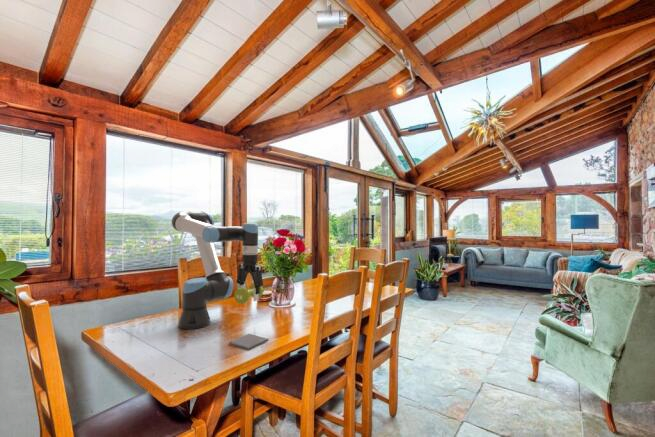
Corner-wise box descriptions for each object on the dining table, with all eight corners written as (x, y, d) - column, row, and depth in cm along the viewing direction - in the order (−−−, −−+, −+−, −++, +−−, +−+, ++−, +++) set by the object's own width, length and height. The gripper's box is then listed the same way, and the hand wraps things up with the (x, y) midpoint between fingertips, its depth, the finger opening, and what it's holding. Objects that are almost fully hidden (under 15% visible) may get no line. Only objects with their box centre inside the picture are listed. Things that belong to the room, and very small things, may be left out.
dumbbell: (245, 305, 148) (246, 289, 148) (232, 303, 151) (232, 288, 151) (265, 297, 164) (265, 283, 164) (252, 295, 167) (252, 281, 166)
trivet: (229, 344, 139) (229, 341, 139) (248, 335, 149) (248, 333, 149) (248, 350, 133) (248, 347, 133) (268, 340, 143) (268, 338, 143)
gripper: (229, 253, 160) (228, 297, 160) (260, 256, 149) (259, 304, 149) (240, 251, 166) (239, 294, 166) (271, 254, 155) (270, 300, 155)
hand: (249, 299), depth 157 cm, fingers closed on dumbbell, 8 cm apart
